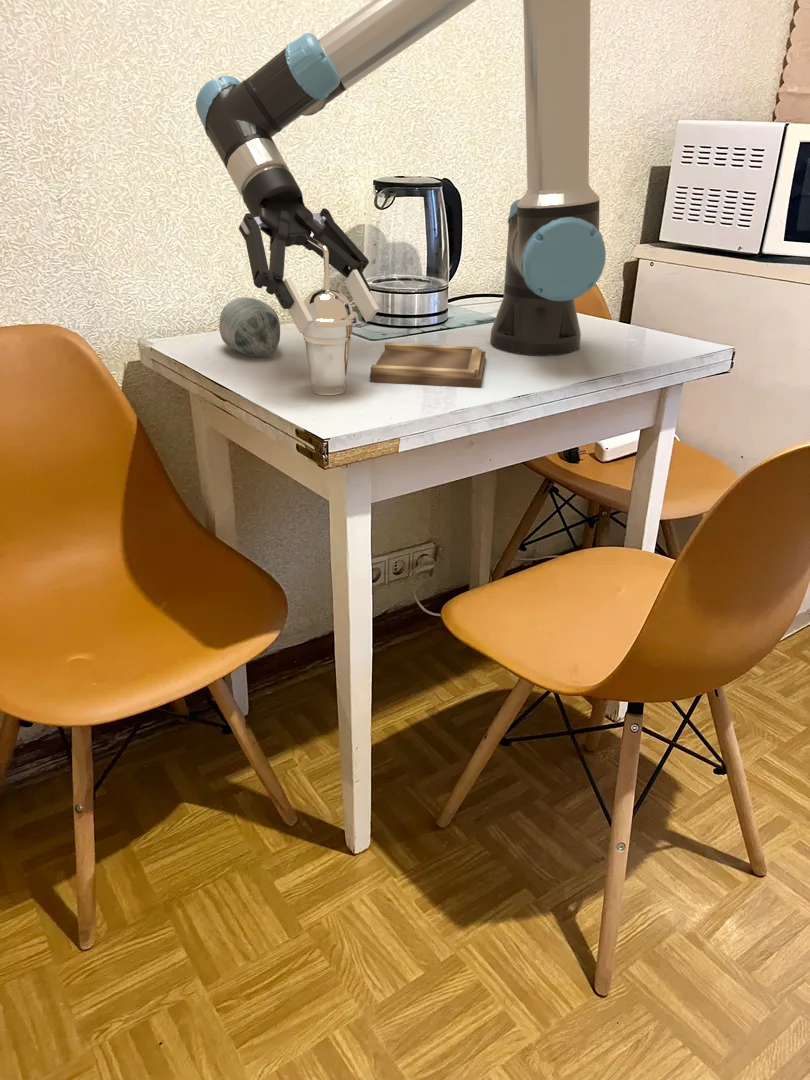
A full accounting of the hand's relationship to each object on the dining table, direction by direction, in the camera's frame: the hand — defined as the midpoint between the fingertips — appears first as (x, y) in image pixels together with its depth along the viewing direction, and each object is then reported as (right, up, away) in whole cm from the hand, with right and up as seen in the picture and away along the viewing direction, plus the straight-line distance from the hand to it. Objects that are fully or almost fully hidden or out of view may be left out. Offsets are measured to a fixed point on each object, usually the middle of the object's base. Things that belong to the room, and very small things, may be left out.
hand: (340, 321), depth 108 cm
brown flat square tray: (+12, -3, +17) cm, 21 cm away
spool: (-17, +2, +25) cm, 30 cm away
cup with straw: (-2, -8, +7) cm, 11 cm away
